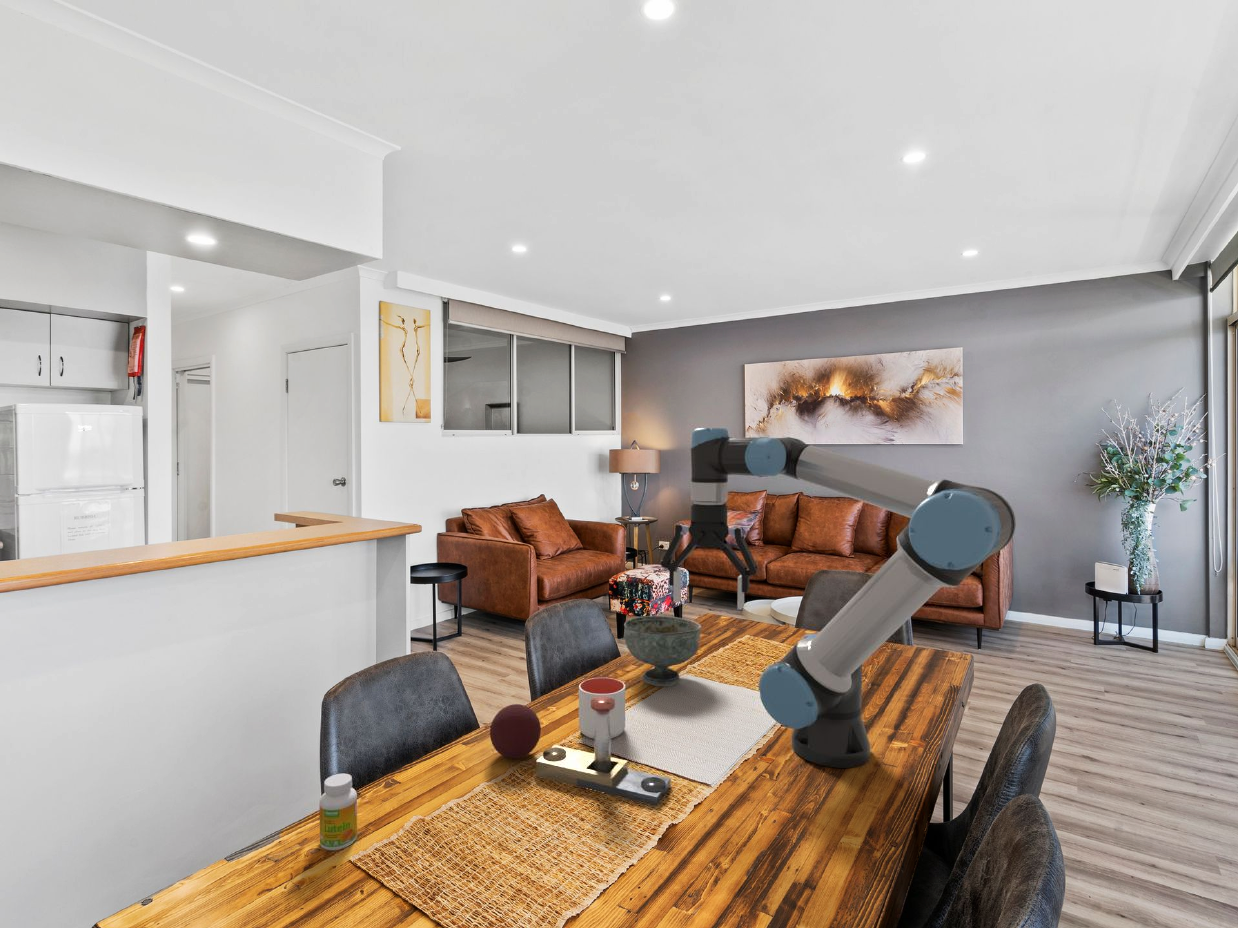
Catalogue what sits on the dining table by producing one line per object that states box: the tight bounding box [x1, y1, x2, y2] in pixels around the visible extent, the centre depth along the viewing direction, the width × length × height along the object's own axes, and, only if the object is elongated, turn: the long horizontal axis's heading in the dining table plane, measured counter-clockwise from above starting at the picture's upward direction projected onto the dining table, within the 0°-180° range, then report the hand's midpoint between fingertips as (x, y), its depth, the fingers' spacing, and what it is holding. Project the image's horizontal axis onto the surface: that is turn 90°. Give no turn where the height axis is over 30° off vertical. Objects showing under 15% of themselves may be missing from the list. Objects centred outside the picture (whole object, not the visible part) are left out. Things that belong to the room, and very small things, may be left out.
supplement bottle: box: [318, 773, 358, 851], centre depth 103 cm, size 5×5×10 cm
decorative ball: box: [489, 703, 542, 759], centre depth 131 cm, size 10×10×10 cm
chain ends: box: [535, 744, 671, 807], centre depth 121 cm, size 24×7×3 cm, turn 66°
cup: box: [578, 677, 626, 740], centre depth 142 cm, size 10×10×10 cm
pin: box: [591, 696, 615, 774], centre depth 121 cm, size 4×4×15 cm
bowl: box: [623, 615, 702, 687], centre depth 173 cm, size 20×19×15 cm
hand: (708, 604), depth 137 cm, fingers open, 13 cm apart
